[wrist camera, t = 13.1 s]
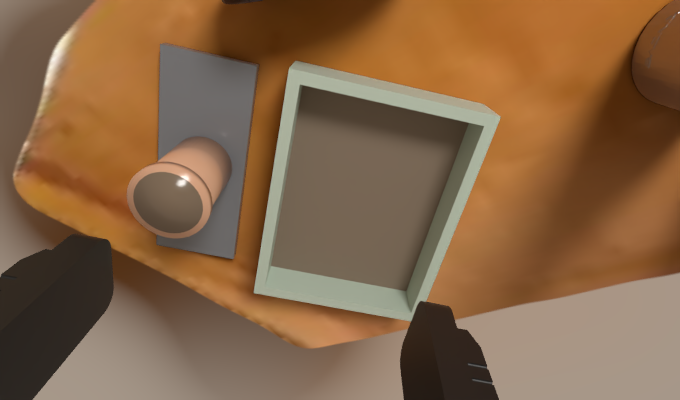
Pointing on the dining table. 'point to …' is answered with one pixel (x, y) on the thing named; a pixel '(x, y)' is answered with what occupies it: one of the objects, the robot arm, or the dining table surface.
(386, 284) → the pale green tray
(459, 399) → the robot arm
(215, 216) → the slate tile
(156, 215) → the clay pot
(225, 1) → the tin
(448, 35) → the dining table surface
